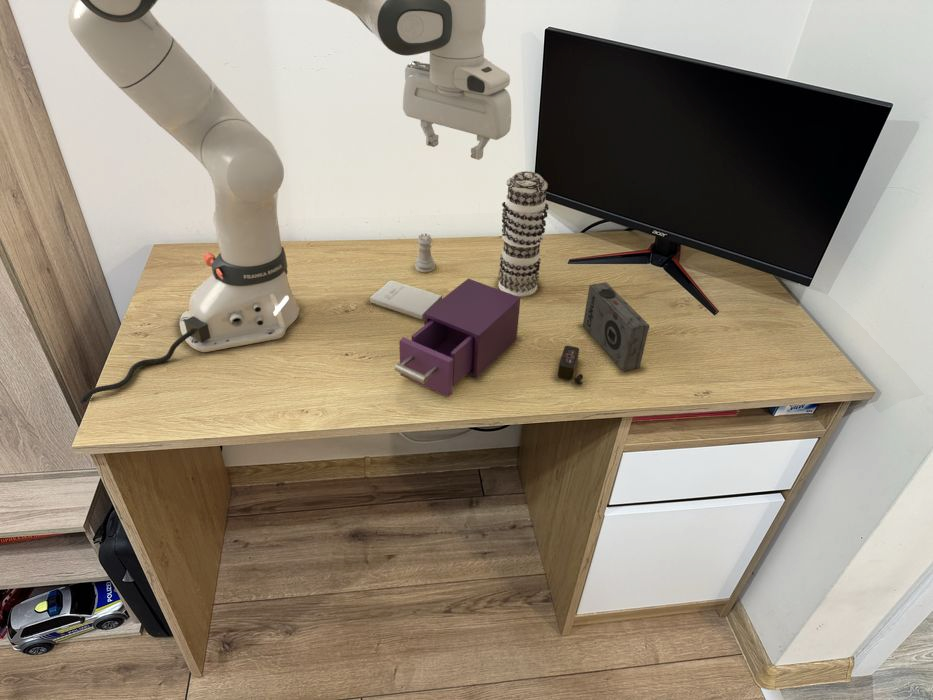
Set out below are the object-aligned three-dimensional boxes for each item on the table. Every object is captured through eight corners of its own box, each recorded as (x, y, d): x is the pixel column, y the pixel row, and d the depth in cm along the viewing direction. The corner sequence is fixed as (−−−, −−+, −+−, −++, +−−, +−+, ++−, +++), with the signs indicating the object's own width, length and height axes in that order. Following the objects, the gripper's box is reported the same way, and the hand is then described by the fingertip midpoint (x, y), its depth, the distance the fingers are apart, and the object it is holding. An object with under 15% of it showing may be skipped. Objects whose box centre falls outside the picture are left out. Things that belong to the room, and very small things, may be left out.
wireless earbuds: (555, 381, 126) (557, 367, 124) (562, 358, 131) (565, 344, 129) (581, 387, 125) (583, 373, 123) (587, 363, 130) (590, 349, 128)
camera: (579, 323, 140) (586, 281, 134) (596, 320, 142) (604, 277, 136) (621, 372, 128) (631, 328, 122) (640, 368, 130) (650, 324, 124)
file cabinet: (476, 378, 126) (478, 335, 120) (423, 355, 130) (423, 313, 125) (516, 339, 136) (520, 297, 130) (466, 319, 140) (468, 278, 135)
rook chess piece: (411, 265, 156) (411, 233, 151) (430, 261, 158) (430, 230, 153) (419, 275, 153) (419, 242, 148) (438, 271, 155) (438, 239, 150)
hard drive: (422, 321, 139) (370, 303, 144) (442, 301, 145) (391, 285, 149) (422, 314, 138) (369, 296, 143) (442, 294, 144) (391, 278, 148)
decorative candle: (535, 300, 147) (547, 189, 131) (492, 293, 148) (499, 182, 133) (542, 278, 154) (555, 170, 138) (501, 271, 155) (510, 164, 140)
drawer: (434, 411, 117) (434, 375, 112) (385, 388, 121) (383, 352, 117) (489, 358, 129) (492, 323, 124) (443, 338, 133) (443, 304, 129)
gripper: (394, 62, 117) (396, 143, 126) (499, 86, 109) (493, 171, 117) (416, 54, 121) (417, 133, 130) (519, 77, 113) (512, 159, 121)
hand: (454, 151), depth 123 cm, fingers open, 8 cm apart
